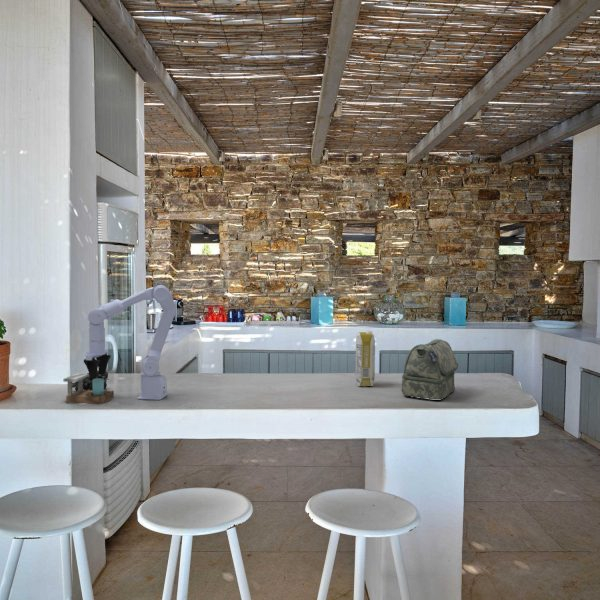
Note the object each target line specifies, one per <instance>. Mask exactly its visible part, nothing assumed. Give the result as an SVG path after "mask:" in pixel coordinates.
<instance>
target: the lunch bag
mask: <svg viewBox="0 0 600 600" xmlns="http://www.w3.org/2000/svg"><path fill="white" fill-rule="evenodd" d="M404 363H405V364H404V367H403V374H402V375H401V393H402V395H404V396H405V395H406V397H408V396H413V397H420V398H429V399H442V398H445V397H446V396H447V397H448V396H450V395H451V394H452V393H453V392H455V390H456V386H455V372H456V371H457V370H458V367H459V363H458V361H457V358H456V355H455V353H454V351H453V349H452V346H451V344H449V342H447V341H446V340H443V339H437V338H436V339H432V340H431V341H430V342H428V343H425V344H424V343H423V344H422V343H421V344H420V343H419V344H417V345H415V346H414V347H412V348H411V349H410V351H409V353H408V354H407V356H406V360H405V362H404ZM451 392H452V393H451ZM450 393H451V394H450ZM413 397H412V398H413ZM447 397H446V398H447ZM446 398H445V399H446Z"/></svg>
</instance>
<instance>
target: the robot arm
mask: <svg viewBox="0 0 600 600" xmlns="http://www.w3.org/2000/svg"><path fill="white" fill-rule="evenodd" d="M153 300H155V301H156V303H158V304H159V306H160V308H161V309H162V314H161V315H160V319H159V321H158V325H157V328H156V331H155V333H154V337H153V339H152V342H151V345H150V347H149V349H148V351H147V355H146V356H145V357H144V358H143V359H142V362H141V370H142V372H141V373H140V395H139V396H138V397H136V399H137V400H157V401H158V400H159V401H161V400H162V399H164V398H165V397H166V396H168V393H167V389H168V388H167V387H168V386H167V384H168V383H167V381H168V380H167V377H166V375H162V374H161V373H160V371H159V368H160V367H159V362H160V359H161V353H162V351H163V349H164V346H165V344H166V340H167V338H168V335H169V331H170V329H171V326H172V323H173V320H174V318H175V314H176V312H177V308H176V304H175V301H174V297H173V294H172V293H171V291H170V289H169V288H168V287H167V286H165V285H163V284H158V285H155V286H152V287H149V288H145V289H143V290H140V291H139V292H136V293H134V294H131V296H129V297H127V298H124V299H122V300H121V299H117V298H116V299H113V298H112V299H110V300H109V301H110V302H107V303H105V304H103V305H101V304H100V305H98V306H97V308H93V309H92V310H90V312H89V313H88V315H87V319H88V321H89V323H88V327H89V328H88V344H89V345H88V347H89V349H88V351H86V355H85V358H84V359H83V364H84V365H85V366H86V369H87V373H89V375H90V378H96V377H97V370H98V371H99V374H105V373H106V372H107V368H108V365H109V364H108V363H109V361H110V359H111V357H112V355H111V354H109V348H106V328H105V320H110V319H112V318H115V317H116V316H119V315H121V314H123V313H124V311H125V310H126V308H128V307H131V306H134V305H136V304H138V303H141V302H143V301H153Z"/></svg>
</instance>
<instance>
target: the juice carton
mask: <svg viewBox="0 0 600 600" xmlns="http://www.w3.org/2000/svg"><path fill="white" fill-rule="evenodd" d="M375 361H376V339H375V335H374V334H373V331H372V330H365V331H363V332H362V331H361V332H360V331H359V332H357V333H356V338H355V370H354V372H355V381H356V384H357V387H358V386H373V387H374V383H375V375H376V374H375V373H376V372H375V370H376V367H375V366H376V362H375Z"/></svg>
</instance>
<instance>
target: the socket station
mask: <svg viewBox="0 0 600 600" xmlns="http://www.w3.org/2000/svg"><path fill="white" fill-rule="evenodd" d="M86 377H89V374H87V373H74V374H71V375H70V376H67V377H65V378H63V382H66V383H67V395H66V396H65V399H66V400H65V401H66V402H71V403H70V404H93V405H94V404H95V405H96V404H97V405H103V404H105V403H107V402H110V401H111V400H112V399H114V396H115V392H114V390H104V394H103V395H93V390H89V389H88V390H83V379H84V378H86ZM77 381H78V391H76V390H75V391H74V392H73V388H72V383H75V382H77ZM66 402H65V403H66Z"/></svg>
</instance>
